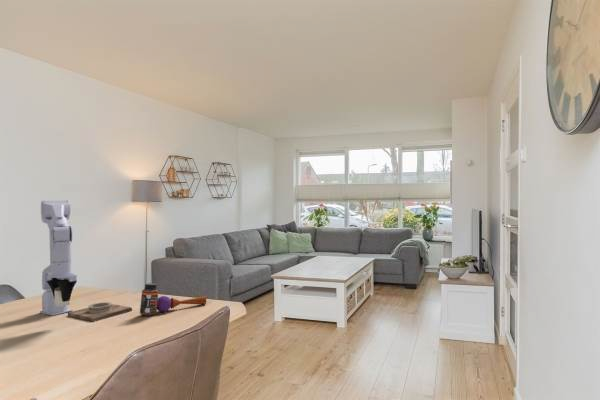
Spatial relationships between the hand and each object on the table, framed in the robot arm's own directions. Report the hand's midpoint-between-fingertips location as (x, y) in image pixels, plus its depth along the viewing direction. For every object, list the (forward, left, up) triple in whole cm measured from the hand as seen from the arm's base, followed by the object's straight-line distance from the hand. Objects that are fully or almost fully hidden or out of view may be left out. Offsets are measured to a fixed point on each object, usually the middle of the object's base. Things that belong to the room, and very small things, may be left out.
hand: (62, 300), depth 137 cm
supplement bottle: (+16, +23, -9) cm, 29 cm away
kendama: (+20, +35, -9) cm, 42 cm away
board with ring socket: (-3, +16, -9) cm, 19 cm away
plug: (0, 0, -2) cm, 2 cm away
